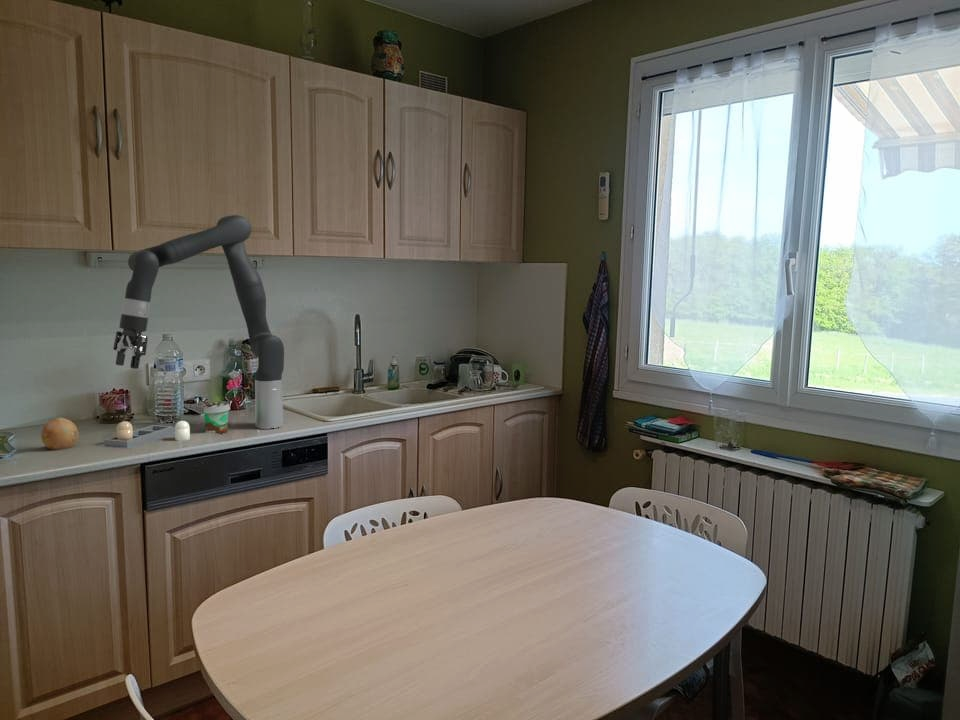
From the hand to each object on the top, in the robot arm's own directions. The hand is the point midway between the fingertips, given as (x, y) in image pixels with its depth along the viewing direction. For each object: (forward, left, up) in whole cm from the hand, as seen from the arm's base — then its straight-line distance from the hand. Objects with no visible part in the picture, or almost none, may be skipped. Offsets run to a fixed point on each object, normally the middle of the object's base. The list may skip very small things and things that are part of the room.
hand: (126, 366), depth 205 cm
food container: (-25, +15, -25) cm, 39 cm away
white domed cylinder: (-10, +11, -25) cm, 29 cm away
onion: (+9, -17, -25) cm, 32 cm away
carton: (-7, -2, -25) cm, 26 cm away
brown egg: (0, -2, -24) cm, 24 cm away
